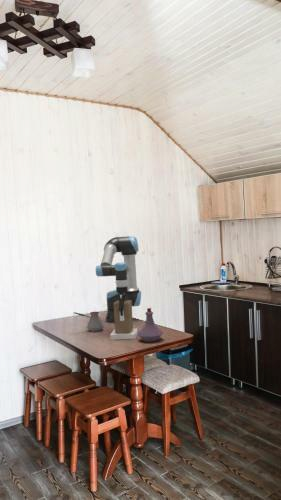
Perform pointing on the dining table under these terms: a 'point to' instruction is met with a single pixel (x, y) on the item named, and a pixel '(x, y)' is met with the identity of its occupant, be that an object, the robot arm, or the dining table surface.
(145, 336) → the flask
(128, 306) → the wooden block
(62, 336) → the dining table surface
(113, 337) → the white square plate
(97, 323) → the coffee pot
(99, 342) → the dining table surface
